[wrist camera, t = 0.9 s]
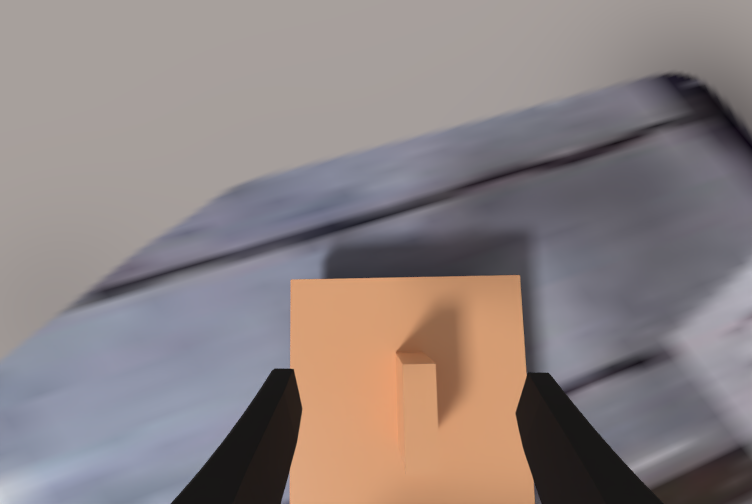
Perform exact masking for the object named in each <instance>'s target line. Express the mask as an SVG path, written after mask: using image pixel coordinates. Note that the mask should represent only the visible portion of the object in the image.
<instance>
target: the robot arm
mask: <svg viewBox="0 0 752 504" xmlns="http://www.w3.org/2000/svg"><path fill="white" fill-rule="evenodd" d="M515 414H516V419H517V424H518V428H519V433H520V437H521V442H522V446H523V450H524V453H525V456H526V459H527V462H528V465H529V468H530V471H531V474H532V477H533V480H534V483H535V485H536V488H537V491H538V494H539V497H540V500H541V503H542V504H664V503H663V502H662V501H661V500H660V499H659V498H658V497H657V496H656V495H655V494H654V493H653V492H652V491H651V490H650V489H649V488H648V487H647V486H646V485H645V484H644V483H643V482H642V481H641V480H640V479H639V478H638V477H637V476H636V475H635V474H634V472H633V471H632V470H631V469H630V468H629V467H628V466H627V465H626V464H625V463H624V462H623V461H622V460H621V458H620V457H619V456H618V455H617V454H616V453H615V452H614V451H613V450H612V448H611V447H610V446H609V445H608V444H607V443H606V442H605V440H604V439H603V438H602V437H601V436H600V435H599V433H598V432H597V431H596V430H595V429H594V428H593V427H592V425H591V424H590V423H589V422H588V421H587V419H586V418H585V417H584V416H583V415H582V413H581V412H580V411H579V410H578V408H577V407H576V406H575V405H574V404H573V402H572V401H571V400H570V399H569V397H568V396H567V395H566V394H565V392H564V391H563V390H562V389H561V387H560V386H559V385H558V384H557V382H556V381H555V380H554V379H553V377H552V376H551V375H550V374H549V373H528V374H527V377H526V380H525V383H524V387H523V390H522V393H521V396H520V400H519V403H518V406H517V409H516V413H515ZM301 416H302V404H301V399H300V395H299V390H298V386H297V381H296V377H295V372H294V369H274V370H272V371H271V373H270V375H269V376H268V378H267V379H266V381H265V382H264V384H263V386H262V387H261V389H260V390H259V392H258V393H257V395H256V396H255V398H254V399H253V401H252V402H251V403H250V405H249V406H248V408H247V409H246V411H245V412H244V414H243V415H242V416H241V418H240V419H239V420H238V422H237V423H236V425H235V426H234V427H233V429H232V430H231V431H230V433H229V434H228V435H227V437H226V438H225V439H224V441H223V442H222V443H221V445H220V446H219V447H218V448H217V450H216V451H215V452H214V453H213V455H212V456H211V457H210V458H209V460H208V461H207V462H206V463H205V465H204V466H203V467H202V468H201V470H200V471H199V472H198V473H197V474H196V475H195V477H194V478H193V479H192V480H191V481H190V483H189V484H188V485H187V486H186V487H185V488H184V489H183V490H182V492H181V493H180V494H179V495H178V496H177V497H176V498H175V499H174V501H173V502H172V503H171V504H281V500H282V497H283V493H284V489H285V486H286V482H287V478H288V475H289V471H290V467H291V464H292V460H293V456H294V452H295V449H296V445H297V440H298V434H299V428H300V422H301Z"/></svg>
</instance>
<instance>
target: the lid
mask: <svg viewBox="0 0 752 504" xmlns="http://www.w3.org/2000/svg"><path fill="white" fill-rule="evenodd" d="M290 369H294V372H295V377H296V381H297V386H298V390H299V395H300V399H301V404H302V416H301V422H300V428H299V434H298V440H297V445H296V449H295V452H294V456H293V460H292V464H291V467H290V504H535V496H534V481H533V477H532V474H531V471H530V468H529V465H528V462H527V459H526V456H525V453H524V450H523V446H522V442H521V437H520V433H519V428H518V424H517V419H516V414H515V413H516V409H517V406H518V403H519V400H520V396H521V393H522V390H523V387H524V383H525V380H526V377H527V374H526V359H525V344H524V329H523V314H522V298H521V283H520V275H496V276H447V277H397V278H348V279H299V280H291V328H290Z"/></svg>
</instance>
